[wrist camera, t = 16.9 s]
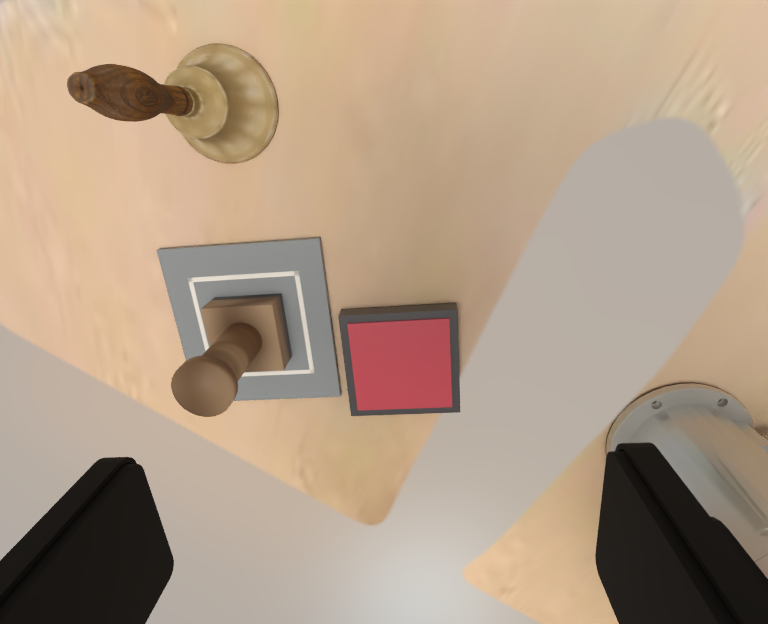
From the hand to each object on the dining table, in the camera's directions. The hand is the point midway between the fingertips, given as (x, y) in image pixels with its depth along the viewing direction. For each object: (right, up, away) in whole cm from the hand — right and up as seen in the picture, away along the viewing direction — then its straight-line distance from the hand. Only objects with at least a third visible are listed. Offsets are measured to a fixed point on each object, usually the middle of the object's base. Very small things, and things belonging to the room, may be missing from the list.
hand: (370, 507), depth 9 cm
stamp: (-11, +3, +32) cm, 34 cm away
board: (-11, +3, +32) cm, 34 cm away
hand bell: (-12, +20, +26) cm, 35 cm away
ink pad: (+2, 0, +33) cm, 33 cm away
